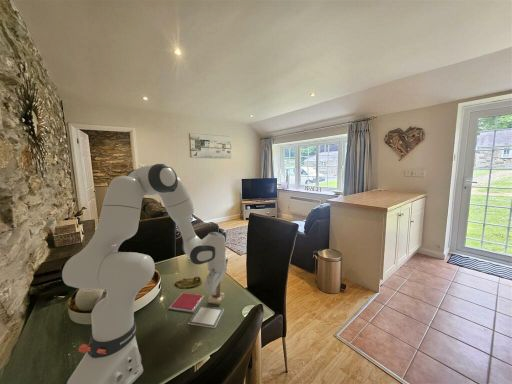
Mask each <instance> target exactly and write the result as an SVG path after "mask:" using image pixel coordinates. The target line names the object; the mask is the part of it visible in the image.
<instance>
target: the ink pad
mask: <svg viewBox="0 0 512 384" xmlns="http://www.w3.org/2000/svg"><path fill="white" fill-rule="evenodd" d="M204 298H205V295H204V294H203V295H202V294H194V293H188V292H181V293H180V294H179V295H178V297H177V298H176V299H175V300H174V301H173V302H172V304H171V305H170V306H169V307H168V309H169V310H173V311H180V312H185V313H186V312H187V313H195V312H196V311H197V310H196V309H198V308H199V306H200V304H201V303H202V301H203V300H204Z"/></svg>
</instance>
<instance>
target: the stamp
mask: <svg viewBox="0 0 512 384" xmlns="http://www.w3.org/2000/svg"><path fill="white" fill-rule="evenodd" d="M216 290H217V294H216V295H213V294H212V293H210V296H209V297H208V304H214V305H221V304H222V302H223V301H224V299H225V292H221V285H220V283H219V285H218V286H217V288H216Z"/></svg>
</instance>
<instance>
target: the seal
mask: <svg viewBox="0 0 512 384" xmlns="http://www.w3.org/2000/svg"><path fill="white" fill-rule="evenodd" d="M202 284H203V281H202V277H200V276H193V278H183V279H180V280H177V281H175V282H174V285H176V287H177V288H178V289H184V290H186V289H194V288H196V287H197V288H198V286H201V285H202Z"/></svg>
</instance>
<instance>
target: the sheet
mask: <svg viewBox="0 0 512 384" xmlns="http://www.w3.org/2000/svg"><path fill="white" fill-rule="evenodd" d="M196 309H197V310H195V311H194V314H193V315H192V316H191V318H190V320H189V321H188V322H187V325H193V326H198V327H199V326H200V327H205V328H212V329H215V328H216V327H217V325H218V323H219V322H220V319H221V317H222V315H223V312H224V310H225V308H223V307H214V306H208V305H200V304H199V305H198V307H197V308H196Z"/></svg>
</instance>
